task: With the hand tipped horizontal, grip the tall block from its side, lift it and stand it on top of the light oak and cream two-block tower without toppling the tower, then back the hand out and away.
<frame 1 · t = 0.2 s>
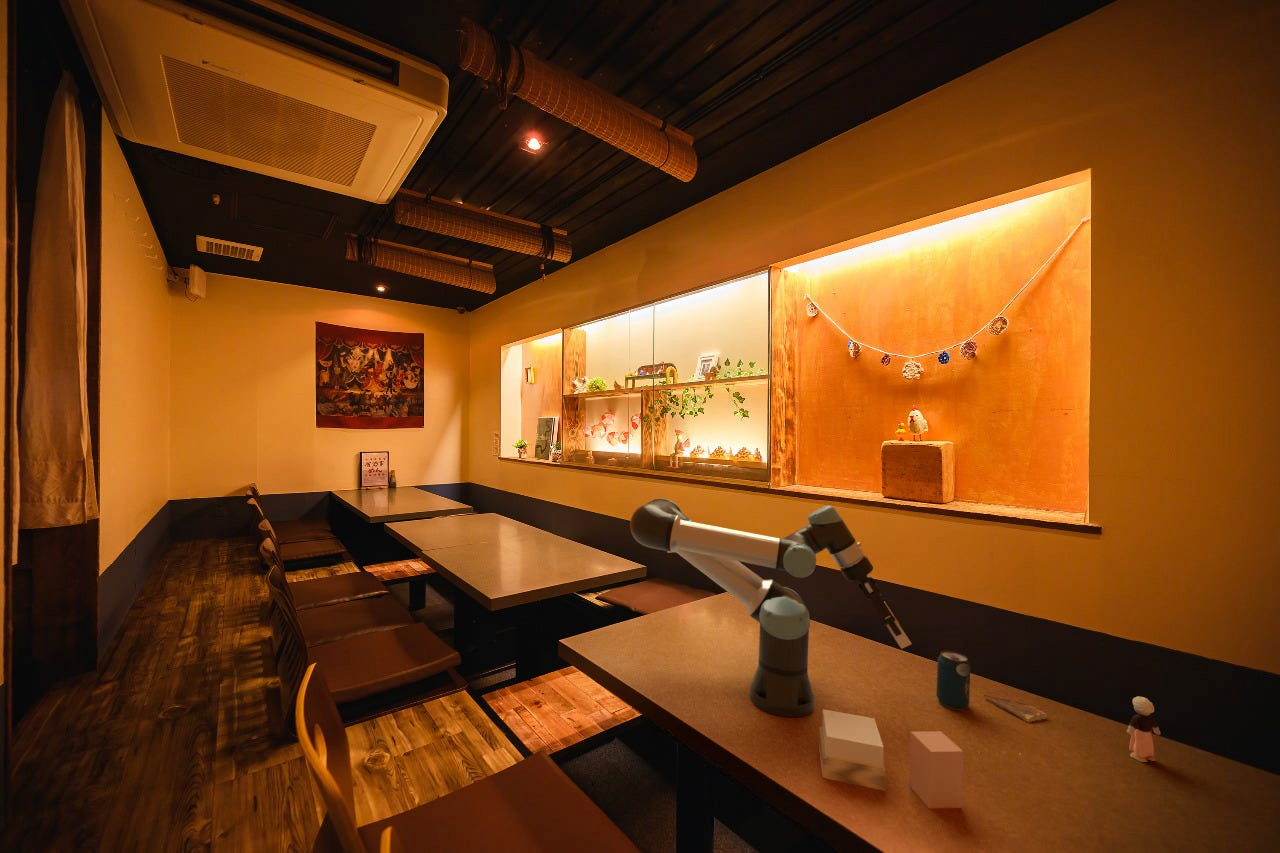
hand: (900, 635, 129), 15 cm above the table, tool tilted 35°, fingers open, 13 cm apart
tower base block: (849, 767, 100), on the table, touching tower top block
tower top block: (850, 747, 100), point 4 cm above the table, touching tower base block
grandmother figurine: (1140, 759, 106), on the table
tall block: (934, 795, 93), on the table
soda can: (952, 704, 126), on the table
shard: (1015, 715, 123), on the table
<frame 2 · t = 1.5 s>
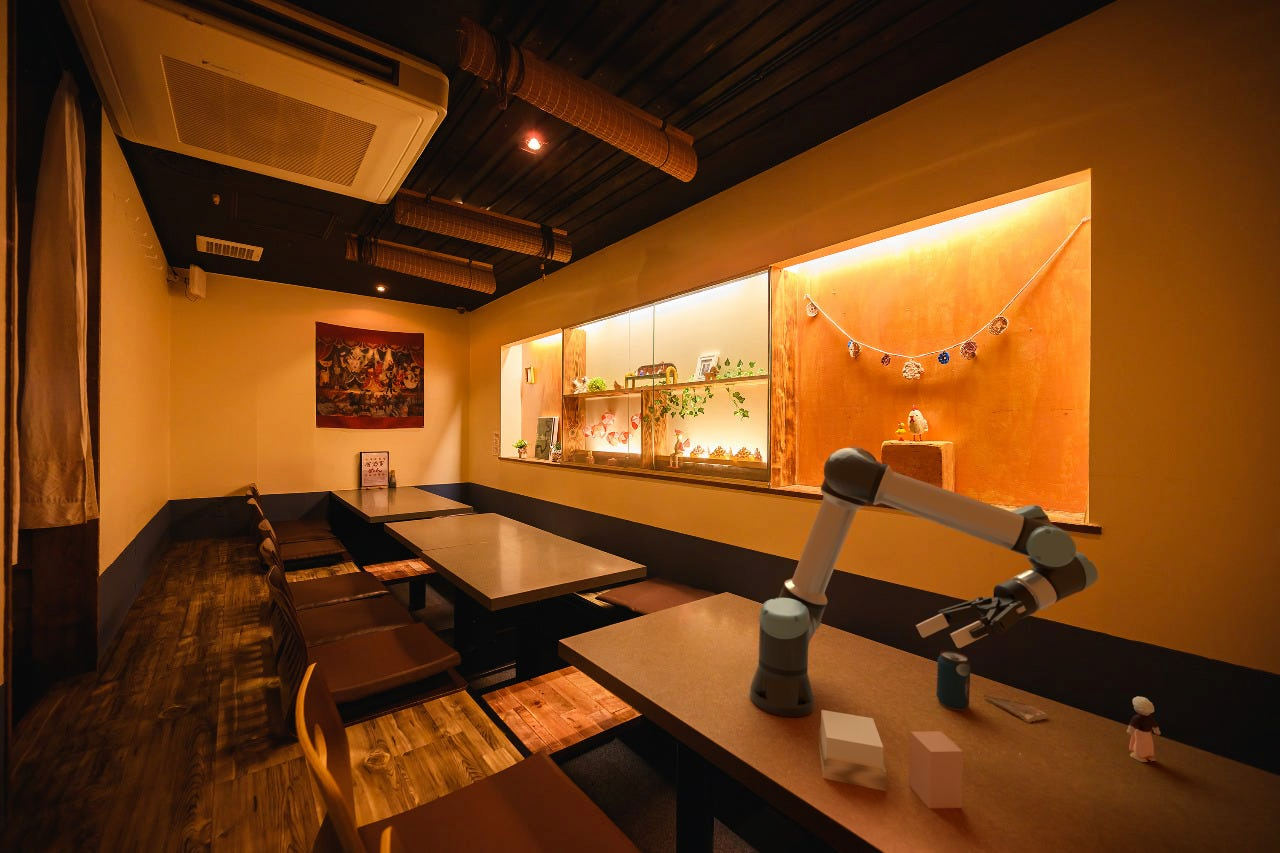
hand: (935, 636, 107), 24 cm above the table, tool tilted 65°, fingers open, 13 cm apart
nothing on the table moved.
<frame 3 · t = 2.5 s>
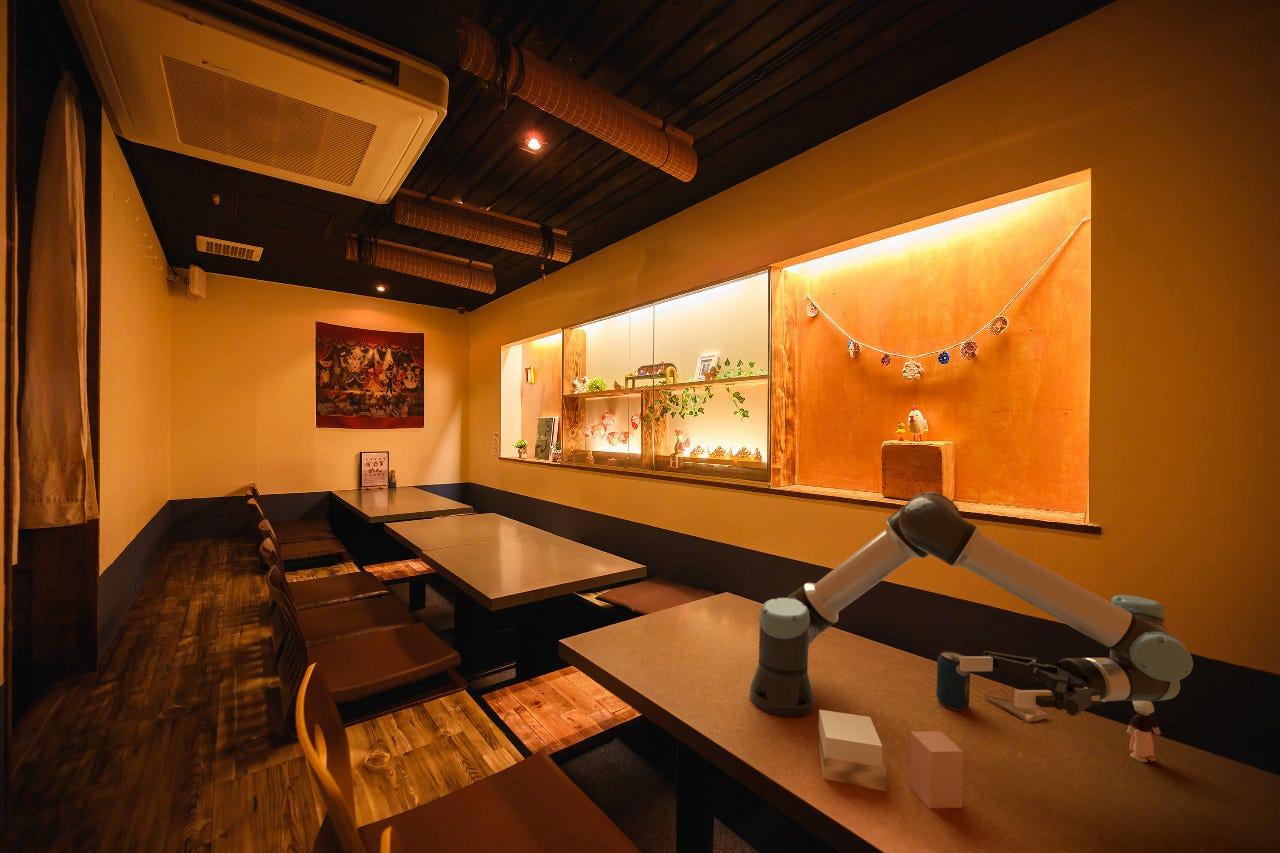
hand: (986, 680, 96), 20 cm above the table, tool horizontal, fingers open, 13 cm apart
tower base block: (850, 768, 100), on the table
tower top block: (848, 746, 100), point 4 cm above the table
everything else where it was.
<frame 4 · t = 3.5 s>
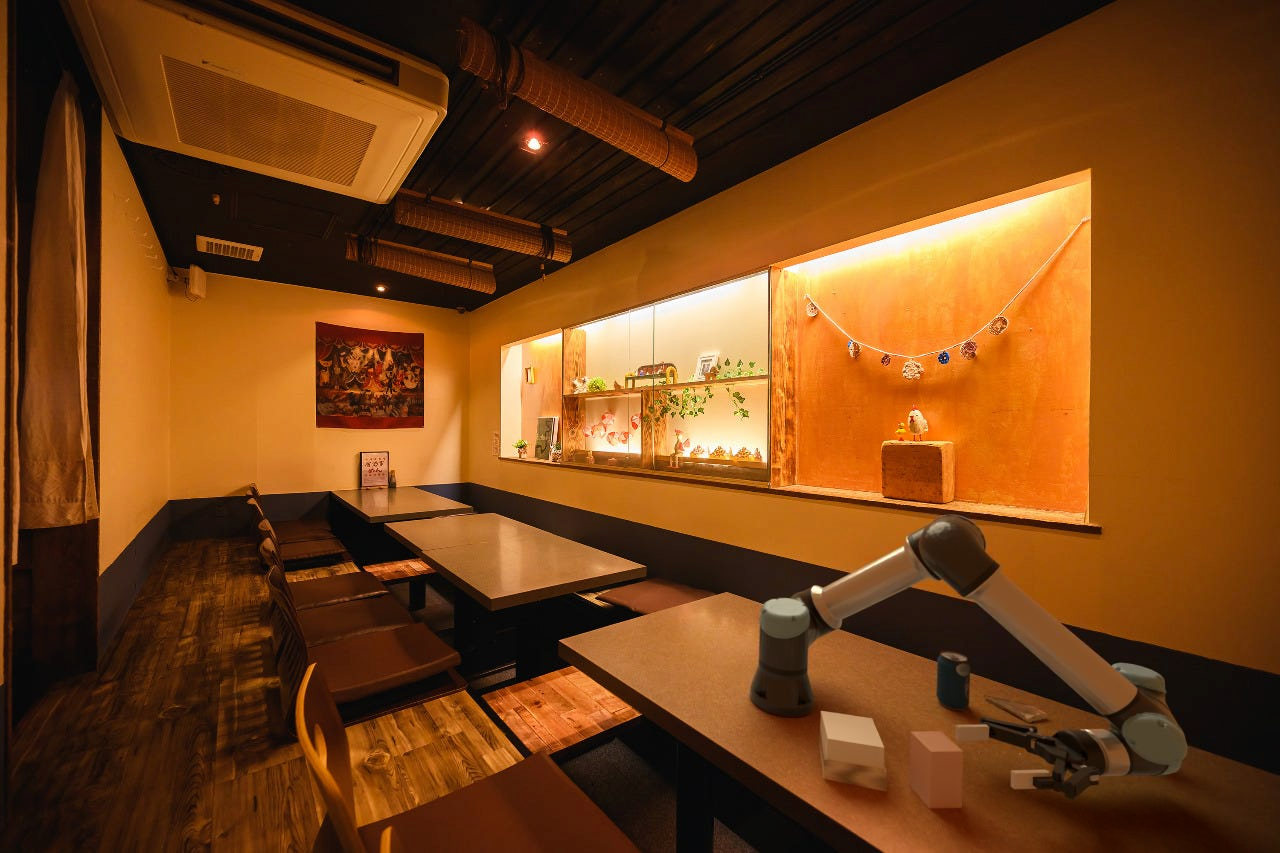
hand: (982, 754, 94), 7 cm above the table, tool horizontal, fingers open, 13 cm apart
tower base block: (850, 768, 100), on the table, touching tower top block
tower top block: (850, 748, 100), point 4 cm above the table, touching tower base block
everything else where it was.
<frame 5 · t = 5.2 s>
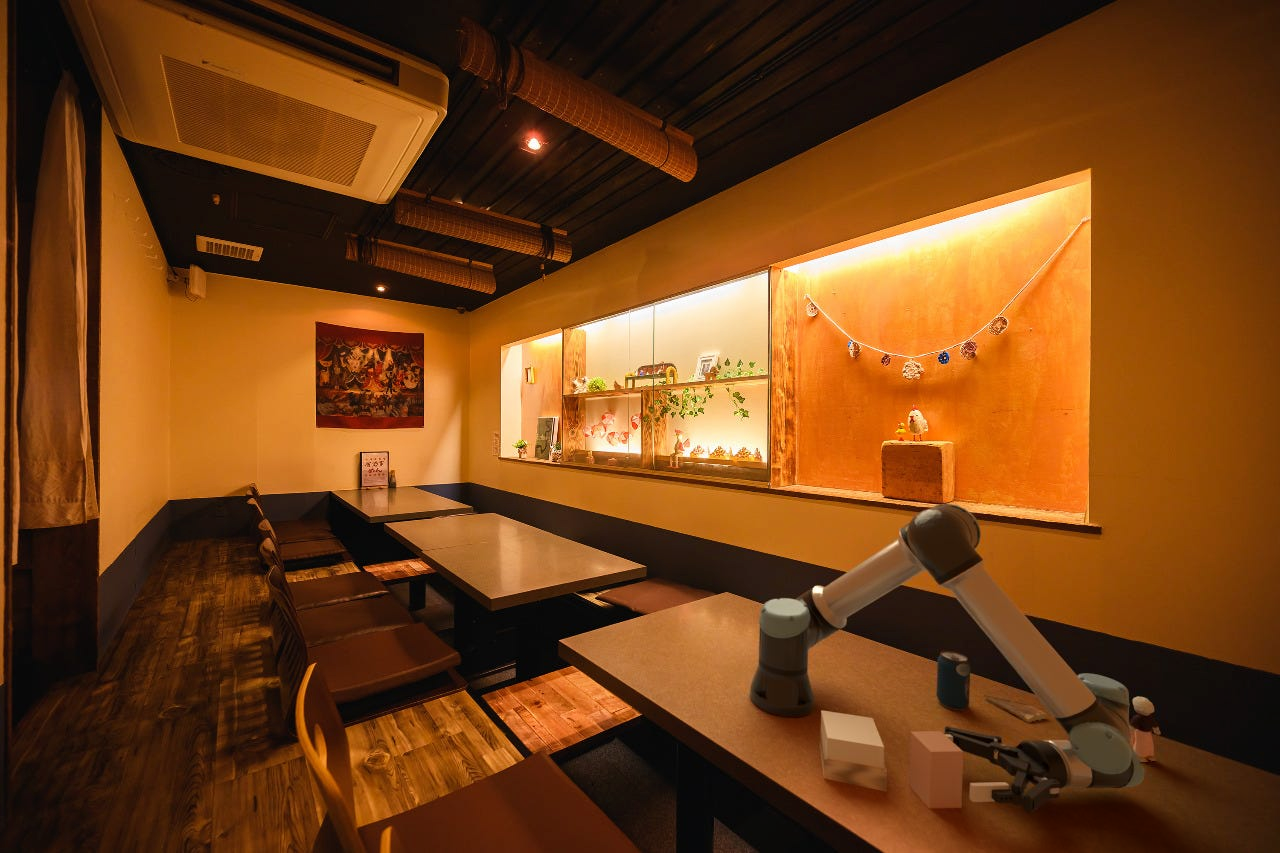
hand: (943, 765, 92), 6 cm above the table, tool horizontal, fingers open, 13 cm apart
nothing on the table moved.
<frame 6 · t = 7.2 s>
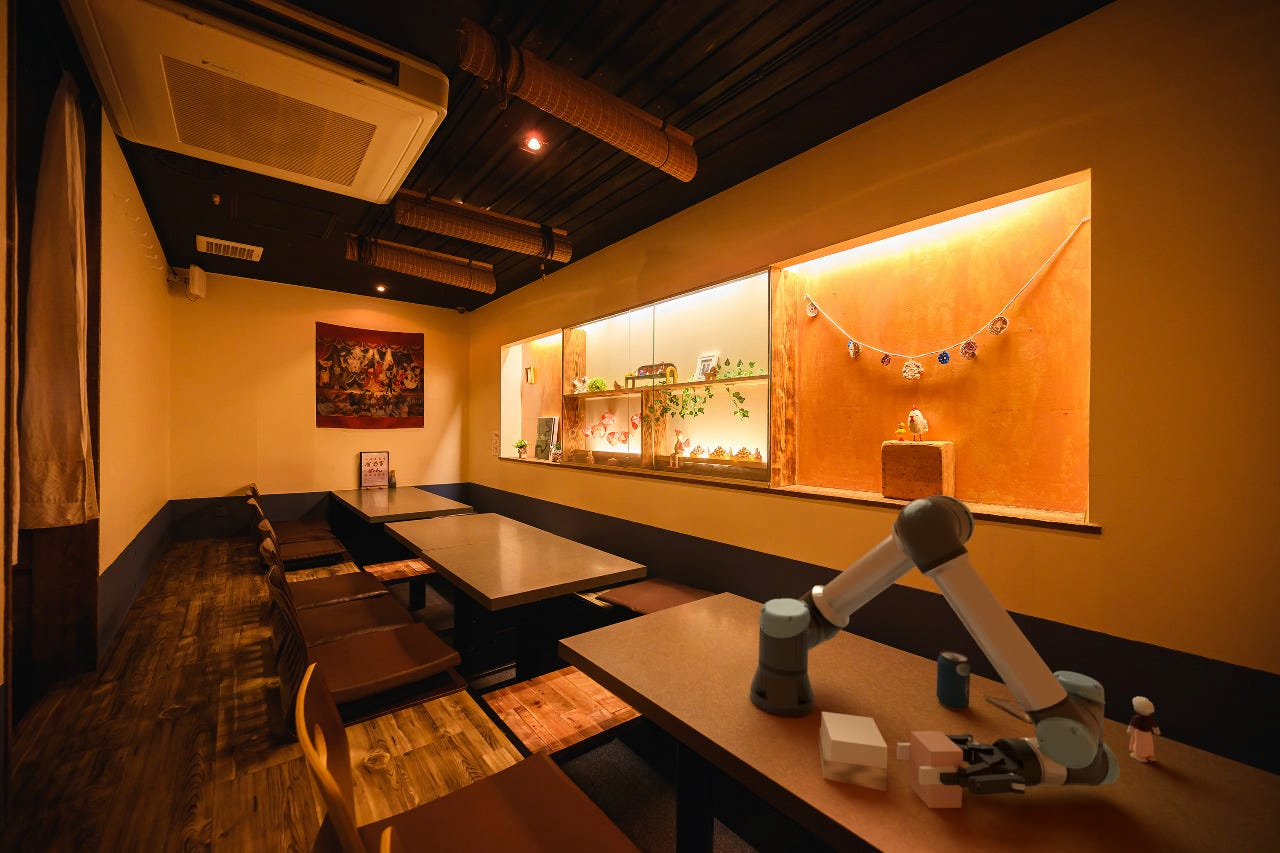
hand: (908, 762, 92), 6 cm above the table, tool horizontal, fingers closed on tall block, 6 cm apart
tall block: (934, 795, 93), on the table, touching gripper
everything else where it was.
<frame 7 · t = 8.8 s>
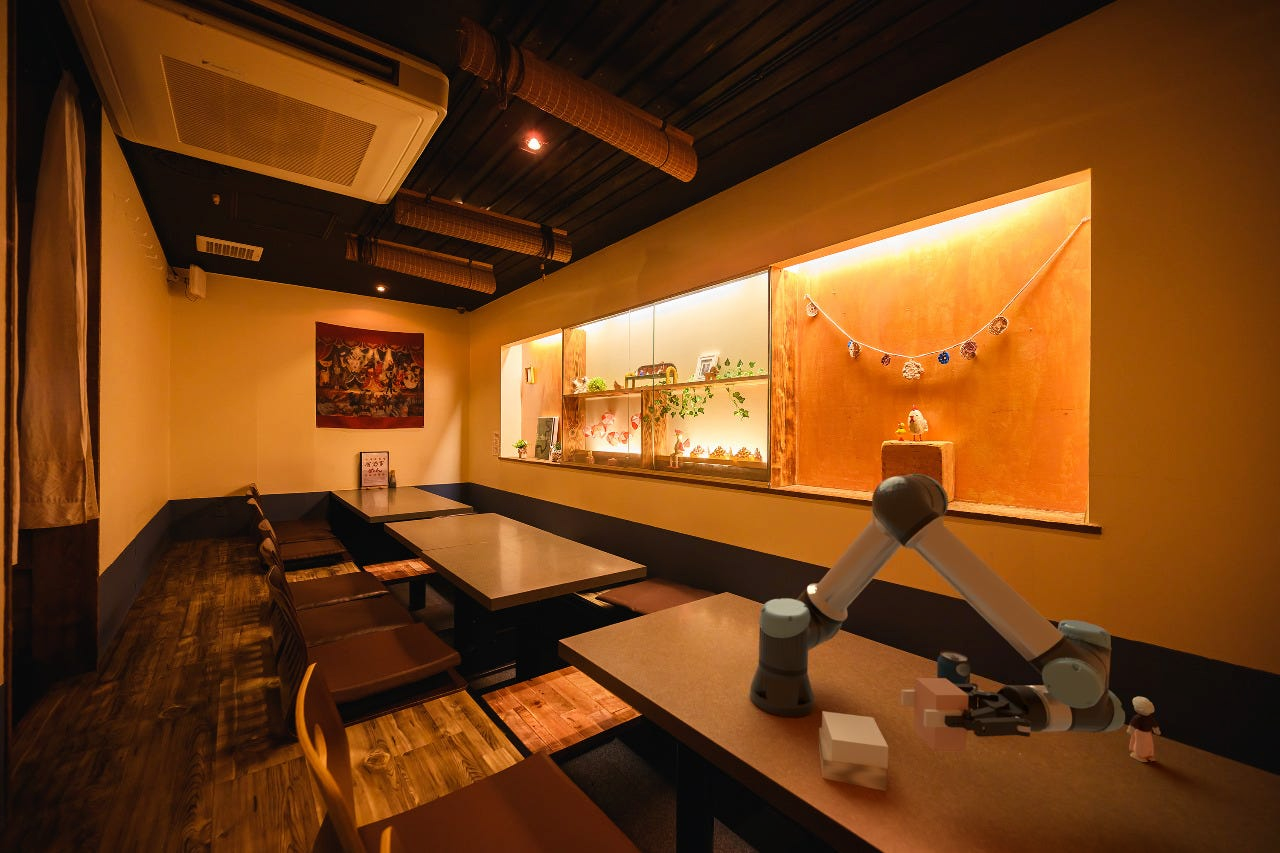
hand: (913, 707, 92), 16 cm above the table, tool horizontal, fingers closed on tall block, 6 cm apart
tall block: (938, 740, 93), point 10 cm above the table, touching gripper
everything else where it was.
when the fingers open (15 cm above the table, at t = 12.6 s): tall block drops 2 cm, resting on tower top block.
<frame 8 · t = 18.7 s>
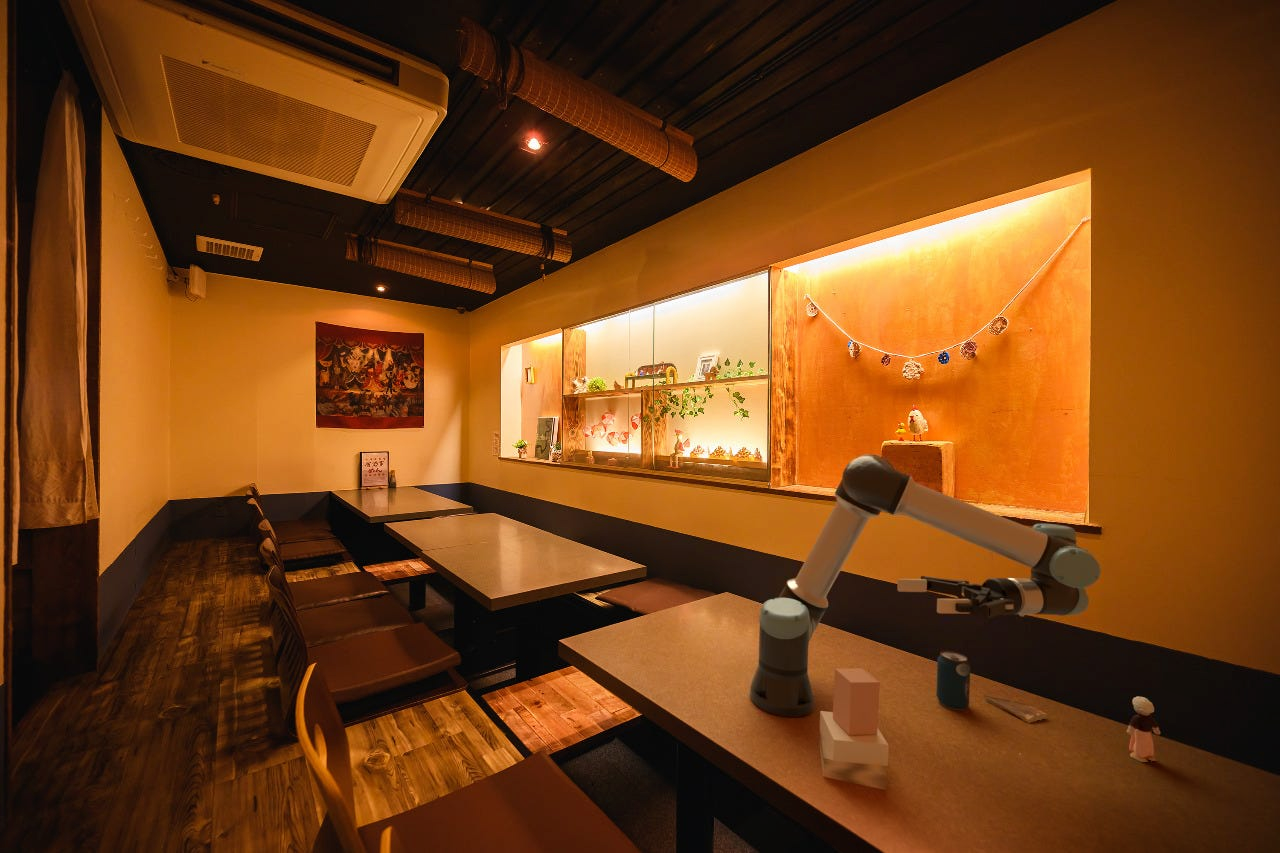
hand: (916, 594, 108), 32 cm above the table, tool horizontal, fingers open, 13 cm apart
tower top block: (851, 747, 101), point 4 cm above the table, touching tall block, tower base block
tall block: (854, 725, 101), point 8 cm above the table, touching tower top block
everything else where it was.
at the end: tall block 0.5 cm off-centre on the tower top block, point 4.1 cm above the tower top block's base; tall block tilted 2°; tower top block moved 0.7 cm from its start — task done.
